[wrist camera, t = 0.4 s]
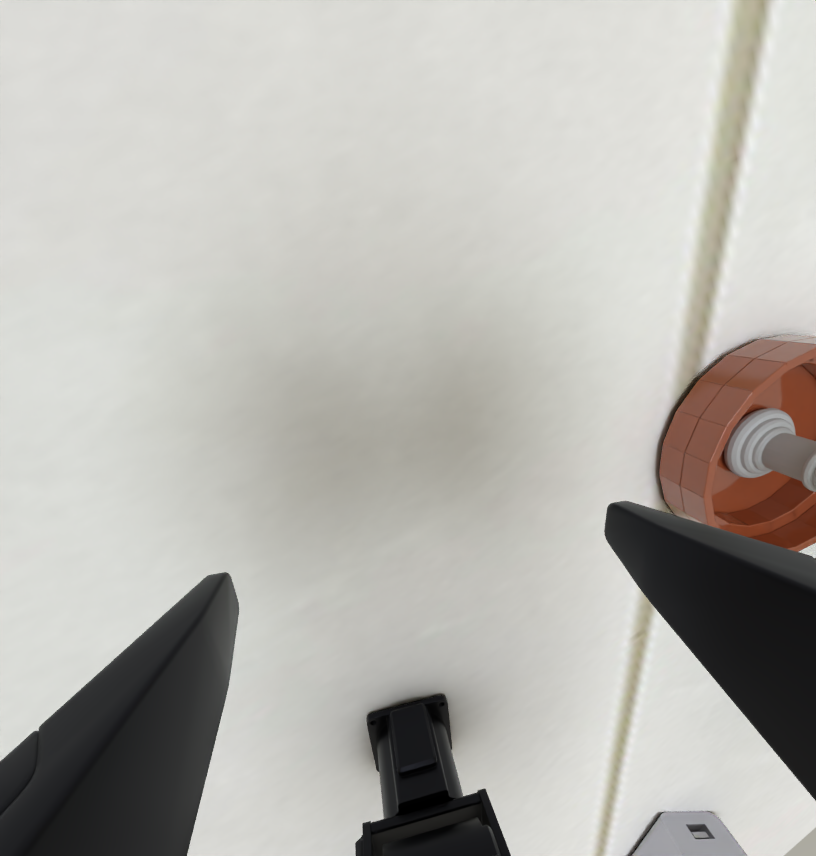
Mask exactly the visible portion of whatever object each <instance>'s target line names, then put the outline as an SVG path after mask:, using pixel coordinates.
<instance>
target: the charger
mask: <svg viewBox="0 0 816 856" xmlns="http://www.w3.org/2000/svg"><path fill="white" fill-rule="evenodd" d="M632 856H747V854H746V853H745V852H744V850H743V849H742V848H741V846H740V845H739V844H738V842H737V841H736V840H735V838H734V837H733V836H732V834H731V833H730V832H729V830H728V829H727V827H726V826H725V825H724V823H723V822H722V821H721V820H720V819H719V817H717V816H716V815H715V814H713V813H710V812H707V811H689V812H664V813H662V814H661V816H660V817H659V818H658V820H657V821H656V823H655V824H654V825H653V827H652V828H651V830H650V831H649V832H648V834H647V835H646V837H645V838H644V839H643V841H642V842H641V843H640V845H639V846H638V848H637V849H636V850H635V852H634V853H633V855H632Z"/></svg>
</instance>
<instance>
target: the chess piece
mask: <svg viewBox="0 0 816 856" xmlns="http://www.w3.org/2000/svg"><path fill="white" fill-rule="evenodd" d="M724 459H725V463H726V465H727V467H728V468H729V469H730V470H731V471H732V472H733V473H734V474H736V475H738V476H740V477H745V478H755V477H759V476H762V475H765V474H767V473H769V472H771V471H773V470H774V471H776V472H779V473H781V474H784V475H787V476H789V477H792V478H794V479H797V480H800V481H802V483H803V485H804V486H805V487H806V488H807V489H809V490H810V491H814V492H816V441H813V440H810V439H806V438H803V437H799V436H796V433H795V426H794V423H793V421H792V419H791V417H790V416H789V415H788V414H787V413H785V412H783V411H781V410H779V409H775V408H764V409H759V410H756V411H754V412H752V413H750V414H748V415H747V416H745V417H744V418H743V419H741V420H740V421H739V422H738V423H737V424H736V425H735V427H734V428H733V430H732V432H731V434H730V436H729V438H728V440H727V443H726V445H725V448H724Z"/></svg>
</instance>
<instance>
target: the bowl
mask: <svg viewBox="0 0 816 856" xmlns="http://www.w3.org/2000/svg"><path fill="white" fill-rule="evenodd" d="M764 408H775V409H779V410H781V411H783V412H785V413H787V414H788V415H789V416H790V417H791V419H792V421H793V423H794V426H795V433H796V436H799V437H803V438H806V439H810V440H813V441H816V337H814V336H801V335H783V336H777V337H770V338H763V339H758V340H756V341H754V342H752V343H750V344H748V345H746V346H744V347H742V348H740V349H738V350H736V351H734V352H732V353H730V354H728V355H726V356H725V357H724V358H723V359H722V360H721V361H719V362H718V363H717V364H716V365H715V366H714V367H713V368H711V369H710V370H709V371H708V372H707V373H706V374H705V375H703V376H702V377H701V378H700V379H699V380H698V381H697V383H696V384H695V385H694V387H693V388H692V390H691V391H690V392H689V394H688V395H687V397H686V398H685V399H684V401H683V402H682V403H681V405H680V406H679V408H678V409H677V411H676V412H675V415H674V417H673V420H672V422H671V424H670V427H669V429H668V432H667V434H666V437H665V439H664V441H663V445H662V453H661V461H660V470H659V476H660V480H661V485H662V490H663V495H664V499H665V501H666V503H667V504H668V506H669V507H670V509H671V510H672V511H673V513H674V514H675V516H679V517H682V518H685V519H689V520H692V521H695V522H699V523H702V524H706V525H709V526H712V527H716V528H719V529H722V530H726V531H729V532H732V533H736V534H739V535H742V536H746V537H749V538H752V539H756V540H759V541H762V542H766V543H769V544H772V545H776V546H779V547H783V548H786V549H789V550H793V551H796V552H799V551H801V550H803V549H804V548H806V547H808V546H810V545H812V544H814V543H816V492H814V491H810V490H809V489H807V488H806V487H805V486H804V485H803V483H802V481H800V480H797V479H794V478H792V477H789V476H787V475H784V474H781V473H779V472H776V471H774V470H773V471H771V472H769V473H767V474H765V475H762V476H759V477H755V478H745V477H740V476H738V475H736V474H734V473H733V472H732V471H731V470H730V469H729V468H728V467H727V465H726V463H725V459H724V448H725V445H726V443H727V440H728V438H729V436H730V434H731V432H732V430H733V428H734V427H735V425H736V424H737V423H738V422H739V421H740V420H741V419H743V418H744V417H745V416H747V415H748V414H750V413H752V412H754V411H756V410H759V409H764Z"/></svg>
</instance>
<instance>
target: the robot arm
mask: <svg viewBox="0 0 816 856" xmlns="http://www.w3.org/2000/svg"><path fill="white" fill-rule="evenodd" d="M604 532H605V537H606V540H607V542H608V543H609V545H610V546H611V548H612V549H613V550H614V552H615V553H616V555H617V556H618V558H619V559H620V561H621V562H622V563H623V565H624V566H625V568H626V569H627V571H628V572H629V574H630V575H631V576H632V578H633V579H634V581H635V582H636V584H637V585H638V587H639V588H640V589H641V591H642V592H643V593H644V595H645V596H646V597H647V598H648V600H649V601H650V602H651V604H652V605H653V606H654V607H655V608H656V610H657V611H658V612H659V613H660V614H661V616H662V617H663V618H664V619H665V620H666V622H667V623H668V624H669V625H670V626H671V628H672V629H673V630H674V631H675V632H676V634H677V635H678V636H679V637H680V638H681V640H682V641H683V642H684V643H685V644H686V646H687V647H688V648H689V649H690V650H691V652H692V653H693V654H694V655H695V656H696V658H697V659H698V660H699V661H700V662H701V664H702V665H703V666H704V667H705V668H706V670H707V671H708V672H709V673H710V674H711V676H712V677H713V678H714V679H715V680H716V682H717V683H718V684H719V685H720V686H721V688H722V689H723V690H724V691H725V692H726V694H727V695H728V696H729V697H730V698H731V700H732V701H733V702H734V703H735V704H736V706H737V707H738V708H739V709H740V710H741V712H742V713H743V714H744V715H745V716H746V718H747V719H748V720H749V721H750V722H751V724H752V725H753V726H754V727H755V728H756V730H757V731H758V732H759V733H760V734H761V736H762V737H763V738H764V739H765V740H766V742H767V743H768V744H769V745H770V746H771V748H772V749H773V750H774V751H775V752H776V754H777V755H778V756H779V757H780V758H781V760H782V761H783V762H784V763H785V764H786V766H787V767H788V768H789V769H790V770H791V772H792V773H793V774H794V775H795V776H796V778H797V779H798V780H799V781H800V782H801V784H802V785H803V786H804V787H805V788H806V790H807V791H808V792H809V793H810V794H811V796H812V797H813V798H814V799H815V800H816V558H815V559H814V558H813V557H812V556H809V555H806V554H803V553H799V552H796V551H793V550H789V549H786V548H783V547H779V546H776V545H772V544H769V543H766V542H762V541H759V540H756V539H752V538H749V537H746V536H742V535H739V534H736V533H732V532H729V531H726V530H722V529H719V528H716V527H712V526H709V525H706V524H702V523H699V522H695V521H692V520H689V519H685V518H682V517H679V516H675V515H672V514H669V513H665V512H662V511H659V510H655V509H652V508H649V507H645V506H642V505H639V504H635V503H632V502H629V501H621V502H615V503H611V504H610V505H609V506H608V508H607V514H606V522H605V531H604ZM238 615H239V603H238V599H237V596H236V592H235V589H234V586H233V582H232V579H231V576H230V575H229V574H228V573H226V572H224V573H219V574H213V575H209V576H207V577H206V578H204V579H203V580H202V581H201V582H200V583H199V584H198V585H196V586H195V587H194V588H193V589H192V590H191V591H190V592H189V593H188V594H186V595H185V596H184V597H183V598H182V599H181V600H180V601H179V602H178V603H176V604H175V605H174V606H173V607H172V608H171V609H170V610H169V611H168V612H166V613H165V614H164V615H163V616H162V617H161V618H160V619H159V620H157V621H156V622H155V623H154V624H153V625H152V626H151V627H150V628H149V629H147V630H146V631H145V632H144V633H143V634H142V635H141V636H140V637H139V638H137V639H136V640H135V641H134V642H133V643H132V644H131V645H130V646H129V647H127V648H126V649H125V650H124V651H123V652H122V653H121V654H120V655H119V656H117V657H116V658H115V659H114V660H113V661H112V662H111V663H110V664H109V665H107V666H106V667H105V668H104V669H103V670H102V671H101V672H100V673H99V674H97V675H96V676H95V677H94V678H93V679H92V680H91V681H90V682H89V683H87V684H86V685H85V686H84V687H83V688H82V689H81V690H80V691H78V692H77V693H76V694H75V695H74V696H73V697H72V698H71V699H70V700H68V701H67V702H66V703H65V704H64V705H63V706H62V707H61V708H60V709H58V710H57V711H56V712H55V713H54V714H53V715H52V716H51V717H50V718H48V719H47V720H46V721H45V722H44V723H43V724H42V725H41V726H40V727H39V731H34V732H33V733H32V734H30V735H29V736H28V737H27V738H26V739H25V740H24V741H23V742H22V743H20V744H19V745H18V746H17V747H16V748H15V749H14V750H13V751H12V752H10V753H9V754H8V755H7V756H6V757H5V758H4V759H3V760H1V761H0V856H187V853H188V849H189V844H190V840H191V836H192V832H193V828H194V824H195V820H196V816H197V812H198V808H199V804H200V800H201V796H202V792H203V788H204V784H205V780H206V776H207V772H208V768H209V764H210V760H211V756H212V752H213V748H214V744H215V740H216V736H217V732H218V728H219V724H220V720H221V716H222V712H223V708H224V704H225V700H226V695H227V691H228V686H229V680H230V673H231V666H232V659H233V652H234V644H235V637H236V630H237V623H238ZM367 726H368V731H369V736H370V740H371V745H372V750H373V755H374V760H375V764H376V769H377V771H378V772H379V773H380V783H381V793H382V804H383V814H384V819H383V820H379V821H376V822H372V823H371V821H369V822H366V823H363V835H362V837H361V838H360V839H359V840H358V841H357V842H356V843H355V845H356V856H511V855H510V852H509V850H508V847H507V844H506V842H505V839H504V837H503V834H502V831H501V829H500V826H499V823H498V821H497V818H496V816H495V813H494V810H493V808H492V805H491V802H490V800H489V797H488V795H487V792H486V789H481V790H478V792H477V793H474V794H470V795H467V796H463V793H462V790H461V786H460V782H459V778H458V774H457V770H456V767H455V763H454V759H453V755H452V751H451V750H452V742H451V733H450V723H449V713H448V704H447V700H446V697H445V696H444V695H439V696H435V697H431V698H428V699H424V700H420V701H416V702H413V703H409V704H405V705H401V706H397V707H394V708H390V709H386V710H382V711H378V712H375V713H371V714H369V715H368V716H367Z"/></svg>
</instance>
